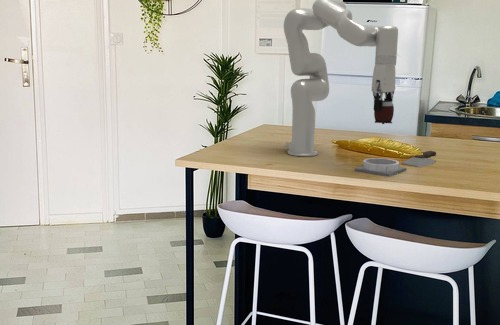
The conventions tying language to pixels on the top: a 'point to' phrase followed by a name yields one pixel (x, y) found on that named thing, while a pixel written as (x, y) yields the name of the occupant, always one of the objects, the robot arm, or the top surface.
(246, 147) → the top surface
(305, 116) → the robot arm
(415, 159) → the cleaver
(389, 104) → the mate gourd
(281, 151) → the top surface
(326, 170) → the top surface
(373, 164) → the housing
